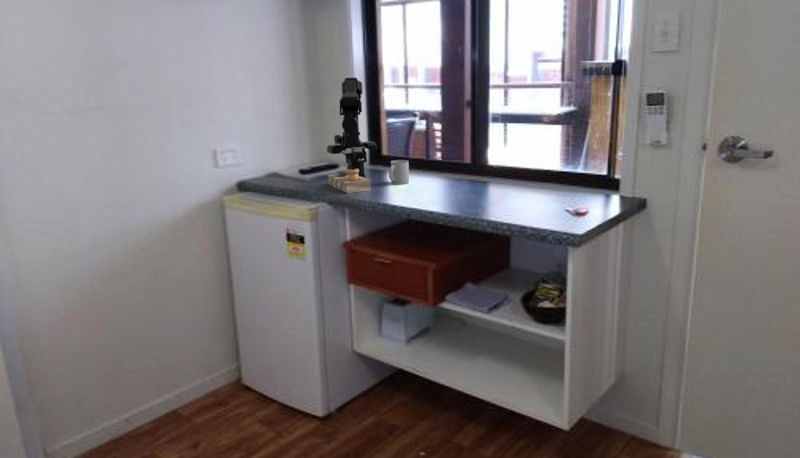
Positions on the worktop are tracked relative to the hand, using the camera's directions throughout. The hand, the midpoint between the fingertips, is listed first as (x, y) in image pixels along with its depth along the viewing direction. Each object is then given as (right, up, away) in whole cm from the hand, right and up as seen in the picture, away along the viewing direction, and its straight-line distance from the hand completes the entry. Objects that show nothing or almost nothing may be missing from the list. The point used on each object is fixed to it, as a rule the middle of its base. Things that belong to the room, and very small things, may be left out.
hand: (353, 169), depth 242 cm
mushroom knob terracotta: (0, -6, +2) cm, 6 cm away
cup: (+17, -5, +12) cm, 22 cm away
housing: (-2, -6, +6) cm, 9 cm away
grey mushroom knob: (-4, -5, +11) cm, 13 cm away
